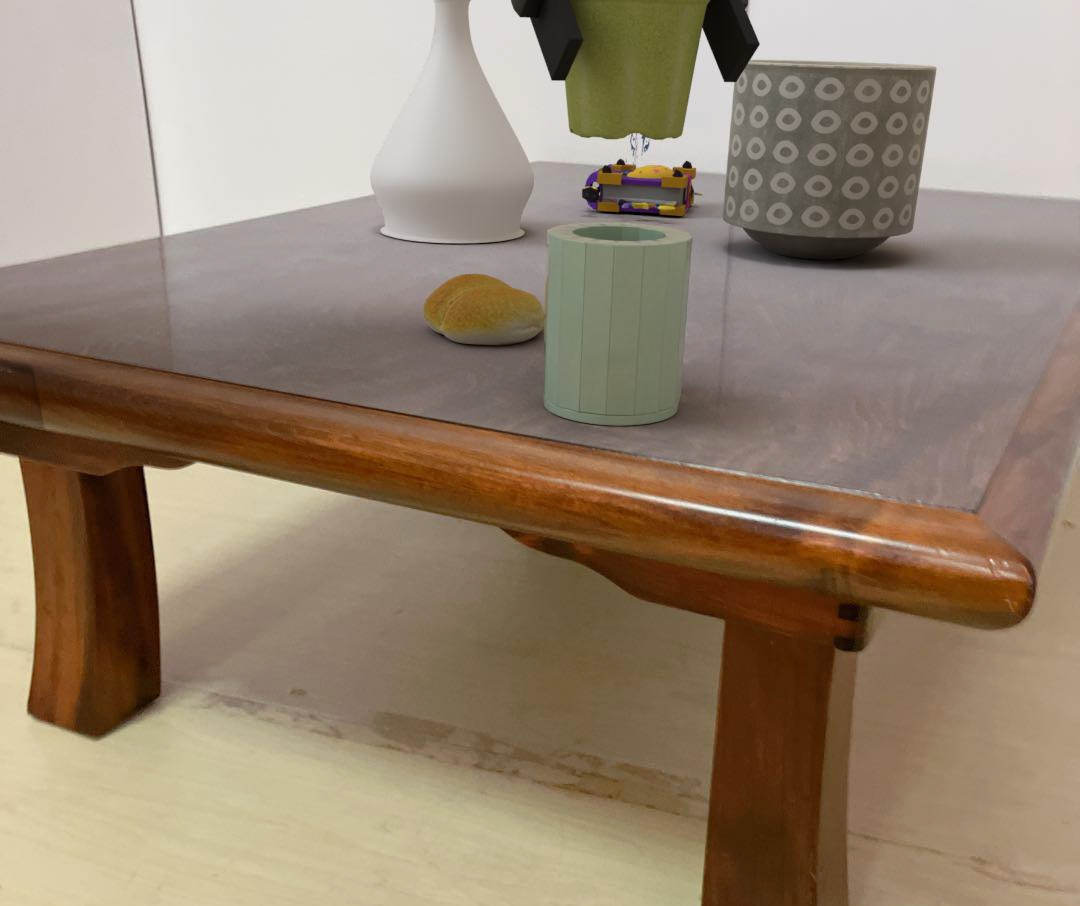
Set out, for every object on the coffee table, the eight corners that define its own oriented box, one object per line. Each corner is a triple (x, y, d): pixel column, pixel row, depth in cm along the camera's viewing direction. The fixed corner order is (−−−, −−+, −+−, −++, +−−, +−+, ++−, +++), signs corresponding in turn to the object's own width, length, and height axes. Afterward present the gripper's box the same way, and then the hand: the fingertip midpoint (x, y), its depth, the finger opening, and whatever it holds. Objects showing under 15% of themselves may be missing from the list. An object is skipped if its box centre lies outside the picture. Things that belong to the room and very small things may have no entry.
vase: (400, 249, 117) (394, -30, 107) (352, 223, 131) (343, -25, 121) (559, 241, 124) (567, -22, 114) (496, 217, 138) (499, -18, 128)
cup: (548, 425, 66) (554, 243, 62) (538, 386, 73) (542, 221, 69) (690, 426, 66) (704, 246, 62) (665, 386, 74) (677, 223, 70)
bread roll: (467, 353, 80) (467, 294, 78) (409, 325, 87) (408, 271, 85) (568, 340, 84) (570, 283, 82) (505, 315, 91) (506, 262, 89)
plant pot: (503, 135, 63) (505, -46, 59) (597, 127, 70) (604, -36, 66) (656, 148, 58) (668, -49, 54) (740, 138, 65) (756, -37, 61)
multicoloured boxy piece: (564, 217, 140) (568, 108, 135) (601, 192, 162) (606, 98, 157) (687, 225, 137) (695, 113, 132) (707, 198, 159) (715, 102, 154)
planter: (757, 232, 133) (774, 59, 126) (927, 250, 125) (956, 65, 117) (691, 255, 118) (706, 60, 111) (879, 278, 109) (909, 68, 102)
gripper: (679, -172, 74) (800, 113, 67) (335, -208, 65) (434, 114, 59) (732, -291, 67) (873, 11, 61) (359, -348, 59) (473, -4, 52)
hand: (657, 62), depth 60 cm, fingers closed on plant pot, 9 cm apart
